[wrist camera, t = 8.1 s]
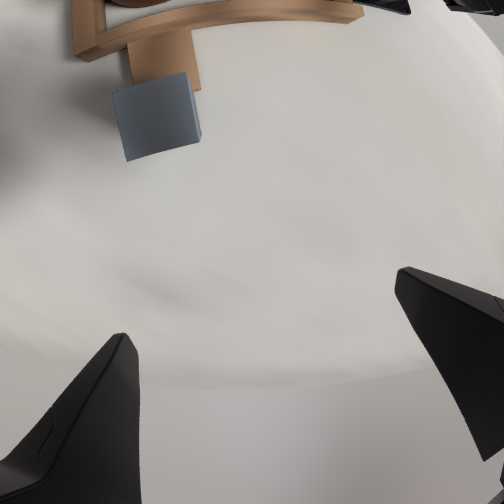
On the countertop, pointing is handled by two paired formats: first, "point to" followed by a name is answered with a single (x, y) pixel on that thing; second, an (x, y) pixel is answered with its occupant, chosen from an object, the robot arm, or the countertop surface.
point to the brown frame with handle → (176, 60)
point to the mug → (139, 2)
